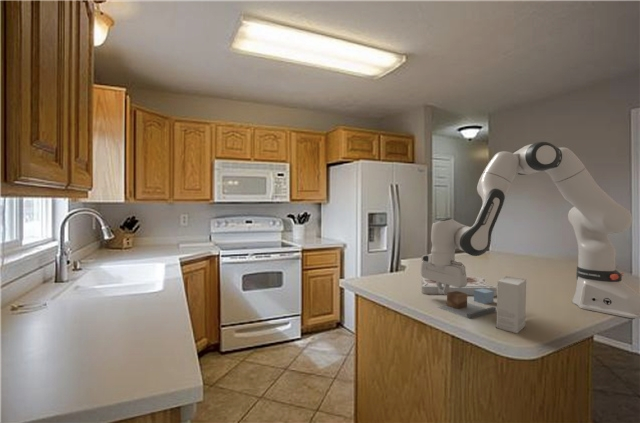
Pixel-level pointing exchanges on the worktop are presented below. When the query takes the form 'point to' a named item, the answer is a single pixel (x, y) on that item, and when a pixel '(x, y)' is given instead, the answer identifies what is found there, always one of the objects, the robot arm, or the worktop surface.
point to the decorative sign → (472, 285)
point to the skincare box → (511, 304)
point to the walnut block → (457, 299)
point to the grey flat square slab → (469, 310)
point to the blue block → (484, 296)
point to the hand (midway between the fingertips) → (442, 293)
